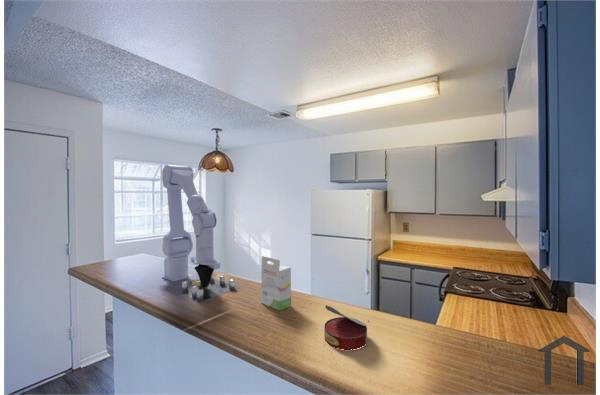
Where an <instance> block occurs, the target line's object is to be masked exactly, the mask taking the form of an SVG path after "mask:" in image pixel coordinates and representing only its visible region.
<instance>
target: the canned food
mask: <svg viewBox="0 0 600 395" xmlns="http://www.w3.org/2000/svg"><path fill="white" fill-rule="evenodd" d="M324 308H325V309H326V310H327V311H329V312H332V313H333V314H335V315H339V316H340V317H333V318H330V319H329V320H327V321H326V322H325V323H324V327H323V328H324V341H325V343H326V342H327V343H328V344H329V346H330V347H331V346H332V348H333V347H335V348H334V349H336V348H339V349H344V350H343V351H345V350H351V349H352V350H353V349H357V348H360V347H362V346H364V345H365V344H366V342H367V343H368V327H367V324H366V323H364V322H362V321H361V320H358V319H356V318H353V317H349V316H347V315H345V314H342V313H341V312H340V311H338V310H337V309H335V308H334V307H332V306H330V305H329V306H328V305H327V304H326V305H325V307H324ZM327 343H326V344H327ZM328 344H327V345H328ZM366 345H367V344H366ZM366 345H365V346H366ZM365 346H364V347H365ZM339 349H338V350H339ZM353 351H354V350H353Z"/></svg>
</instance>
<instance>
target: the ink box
mask: <svg viewBox="0 0 600 395" xmlns="http://www.w3.org/2000/svg"><path fill="white" fill-rule="evenodd" d="M280 261H281V260H279V259H277V258H273V257H268V256H264V255H262V256H261V268H260V269H261V270H260V271H261V304H262V303H263V304H262V305H265V306H267V307H269V306H270V308H272V309H274V310H277V311H278V312H281V311H284V310H285V308H286V309H288V308H290V307H292V275H291V274H292V271H291V270H292V268H291V266H285V265H281V262H280ZM269 262H270V263H269Z"/></svg>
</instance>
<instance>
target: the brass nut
mask: <svg viewBox="0 0 600 395" xmlns="http://www.w3.org/2000/svg"><path fill="white" fill-rule="evenodd" d="M191 286H198V289H200V288H204V287H202V286H201V282H200V278H196V279H193V280H192V281H191Z"/></svg>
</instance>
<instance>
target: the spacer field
mask: <svg viewBox="0 0 600 395" xmlns="http://www.w3.org/2000/svg"><path fill="white" fill-rule="evenodd" d="M238 289H241V287H240V286H237V285H236V280H235V279H234V278H231V279H229V280H228V282H226V275H220V276H219V280H218V279H216V278H215V273H214V272H213V273H212V276H211V279H210V283H209V286H206V287H204V288H200V289H198V286H192V285H191V286H189V280H183V281H182V282H181V288H180V289H177V290H174V292H175V293H177V294H180V295H182V296H184V297H186V298H189V299H191V300H194V301H196V302H198V303H201V302H204V301H207V300H210V299H212V298H215V297H218V296H222V295H224V294H227V293H229V292H232V291H235V290H238Z"/></svg>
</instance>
